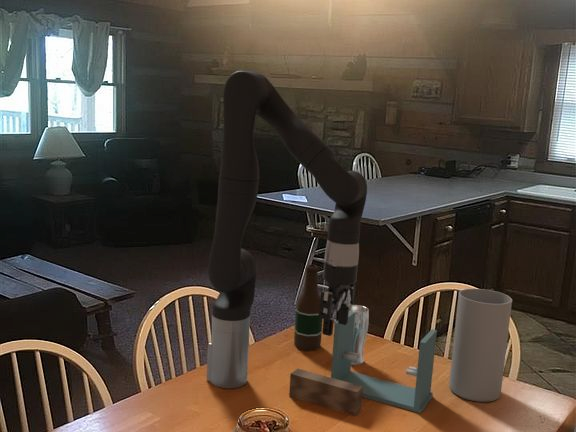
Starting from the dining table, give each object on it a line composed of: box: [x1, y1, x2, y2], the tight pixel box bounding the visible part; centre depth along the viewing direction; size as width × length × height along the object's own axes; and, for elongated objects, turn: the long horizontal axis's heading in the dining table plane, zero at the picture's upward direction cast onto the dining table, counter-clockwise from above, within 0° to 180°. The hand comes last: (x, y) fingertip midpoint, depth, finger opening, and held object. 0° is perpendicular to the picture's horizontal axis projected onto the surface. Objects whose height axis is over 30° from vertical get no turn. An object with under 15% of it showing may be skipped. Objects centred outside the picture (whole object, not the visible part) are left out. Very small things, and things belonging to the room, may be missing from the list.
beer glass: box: [349, 304, 370, 366], centre depth 171 cm, size 7×7×15 cm
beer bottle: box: [293, 264, 323, 352], centre depth 179 cm, size 8×8×24 cm
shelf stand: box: [330, 312, 438, 414], centre depth 152 cm, size 24×10×17 cm, turn 62°
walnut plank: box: [288, 368, 363, 417], centre depth 146 cm, size 17×4×6 cm, turn 62°
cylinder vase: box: [448, 288, 513, 403], centre depth 155 cm, size 12×12×25 cm
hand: (335, 329), depth 142 cm, fingers open, 8 cm apart
